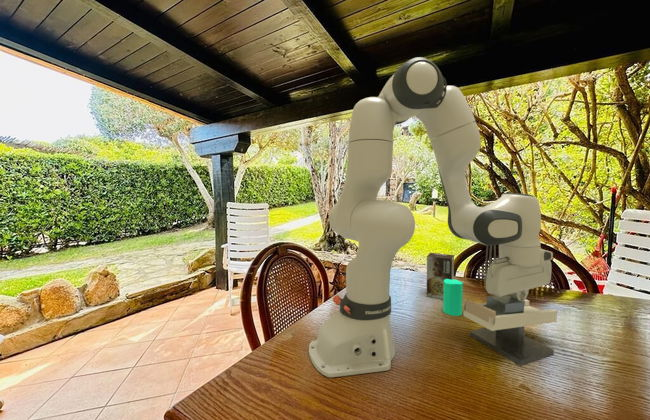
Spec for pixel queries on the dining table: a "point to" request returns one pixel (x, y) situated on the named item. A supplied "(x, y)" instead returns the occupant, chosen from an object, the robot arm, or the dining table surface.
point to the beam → (507, 316)
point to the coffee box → (438, 273)
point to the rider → (505, 305)
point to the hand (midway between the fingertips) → (518, 305)
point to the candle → (452, 297)
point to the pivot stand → (513, 344)
